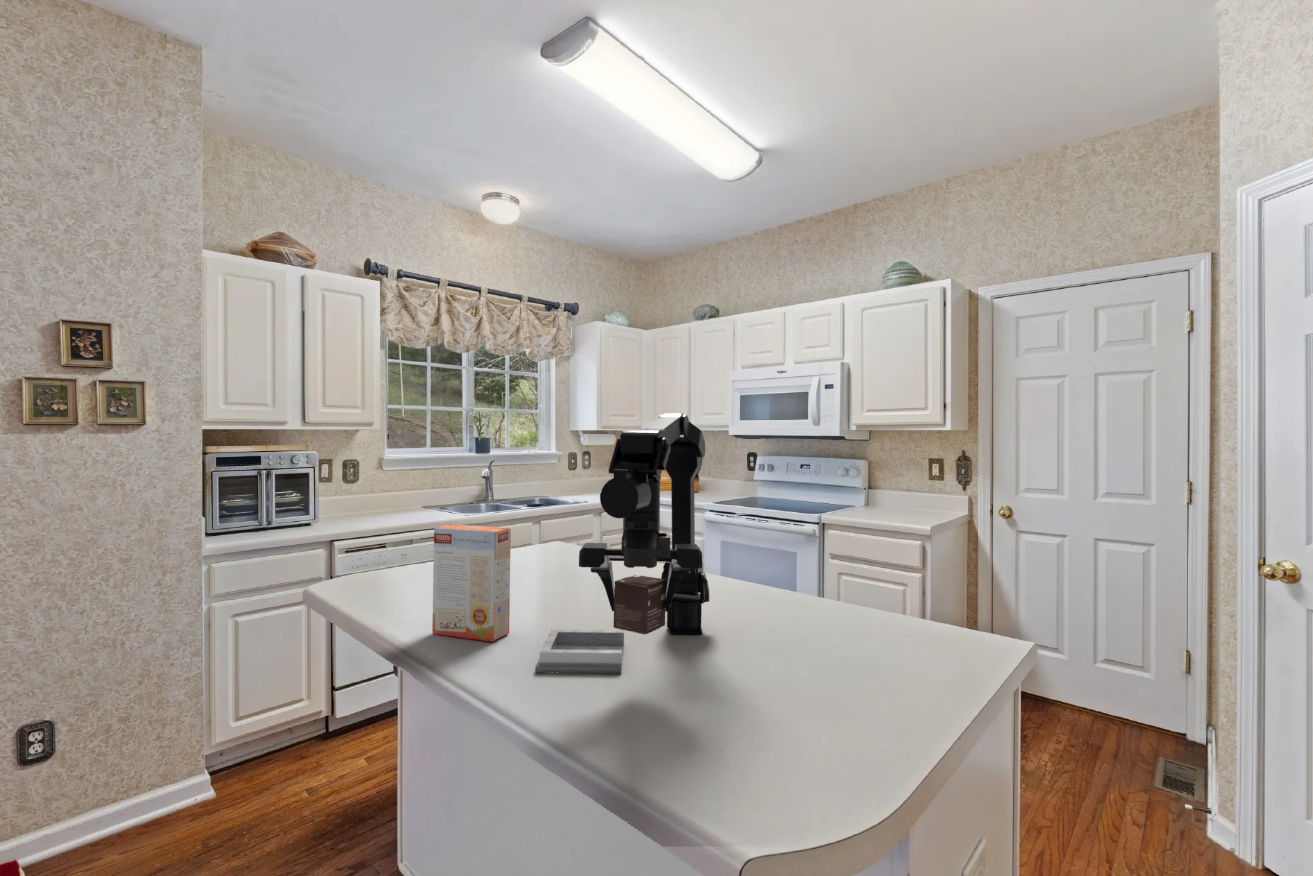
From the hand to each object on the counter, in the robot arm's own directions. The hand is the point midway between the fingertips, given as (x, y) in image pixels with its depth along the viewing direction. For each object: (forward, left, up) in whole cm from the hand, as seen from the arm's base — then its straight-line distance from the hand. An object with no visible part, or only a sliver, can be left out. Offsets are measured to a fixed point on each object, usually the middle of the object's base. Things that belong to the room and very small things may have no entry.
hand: (640, 610), depth 93 cm
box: (0, 0, -3) cm, 3 cm away
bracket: (+10, -12, -12) cm, 20 cm away
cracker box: (+33, -24, -12) cm, 43 cm away
